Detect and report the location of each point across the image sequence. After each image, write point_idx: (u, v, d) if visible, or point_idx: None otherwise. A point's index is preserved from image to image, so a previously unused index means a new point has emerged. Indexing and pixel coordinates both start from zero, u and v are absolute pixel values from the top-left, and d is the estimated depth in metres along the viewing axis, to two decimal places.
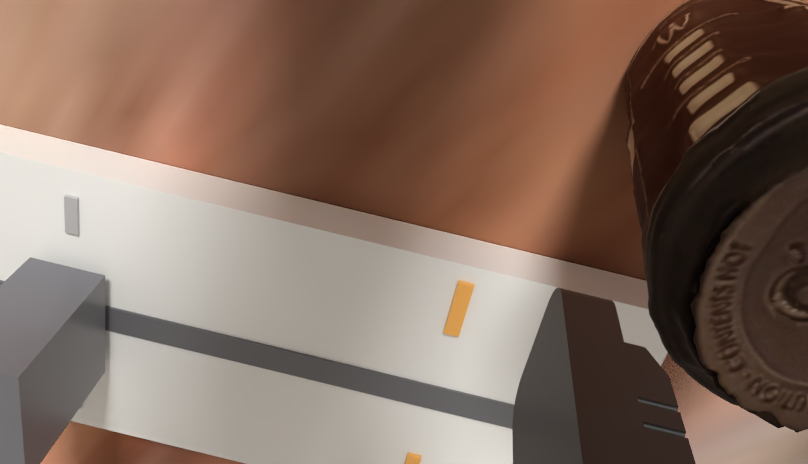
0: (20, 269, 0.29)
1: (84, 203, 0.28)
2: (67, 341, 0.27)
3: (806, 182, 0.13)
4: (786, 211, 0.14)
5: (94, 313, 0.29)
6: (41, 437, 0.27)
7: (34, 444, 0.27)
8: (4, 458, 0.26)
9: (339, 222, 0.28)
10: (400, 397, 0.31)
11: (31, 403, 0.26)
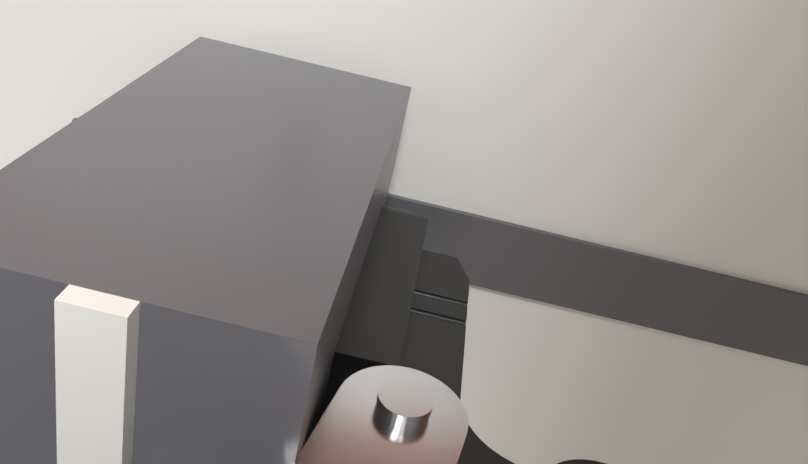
0: (184, 54, 0.10)
1: None
2: (365, 246, 0.08)
3: None
4: None
5: (385, 191, 0.10)
6: None
7: None
8: None
9: None
10: None
11: None
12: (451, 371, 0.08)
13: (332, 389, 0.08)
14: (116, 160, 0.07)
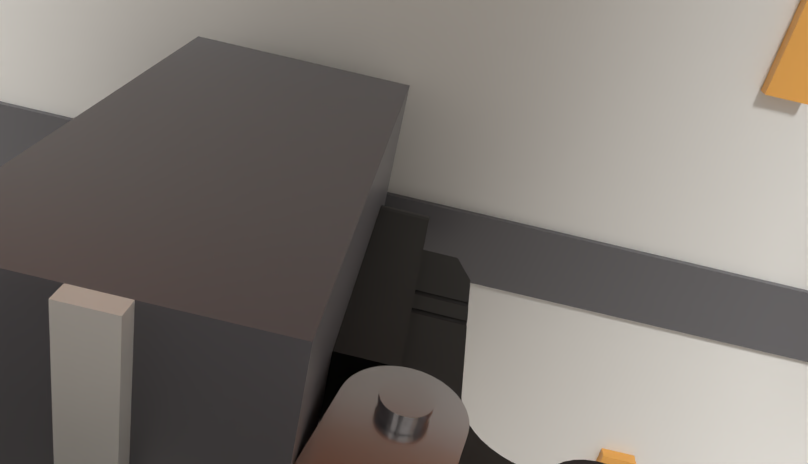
0: (182, 53, 0.10)
1: None
2: (362, 244, 0.08)
3: None
4: None
5: (383, 189, 0.10)
6: None
7: None
8: None
9: None
10: (604, 302, 0.12)
11: None
12: (452, 371, 0.08)
13: (333, 389, 0.08)
14: (112, 159, 0.07)
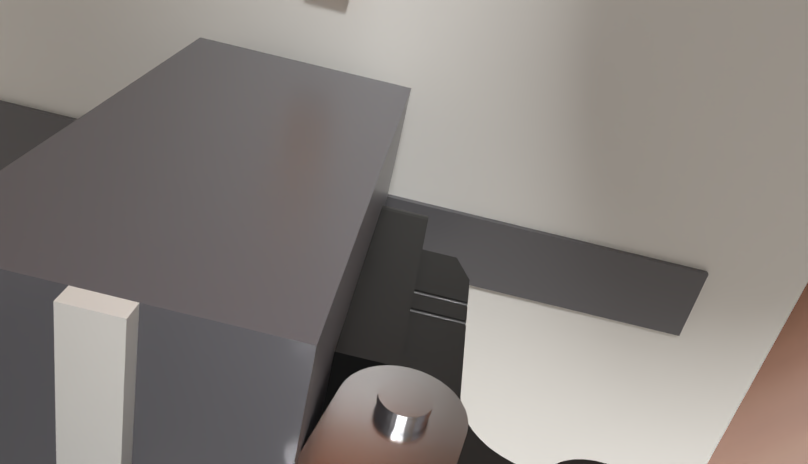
0: (184, 54, 0.10)
1: None
2: (364, 247, 0.08)
3: None
4: None
5: (384, 192, 0.10)
6: None
7: None
8: None
9: None
10: None
11: None
12: (451, 371, 0.08)
13: (332, 389, 0.08)
14: (115, 161, 0.07)
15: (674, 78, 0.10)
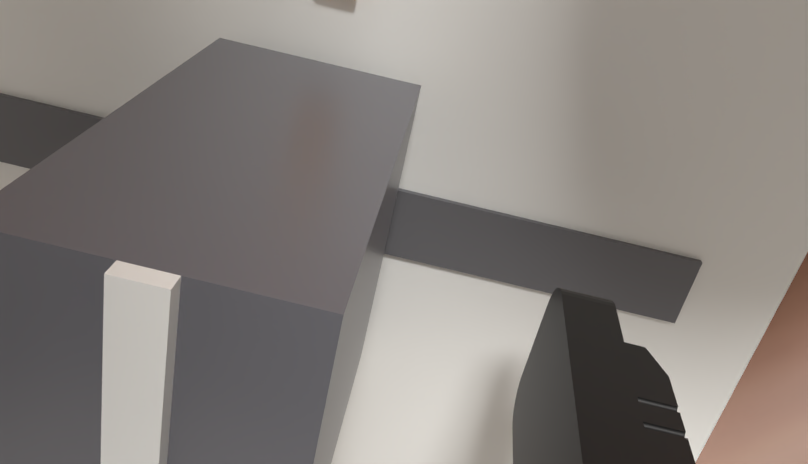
0: (206, 54, 0.10)
1: None
2: (379, 234, 0.09)
3: None
4: None
5: (396, 184, 0.11)
6: None
7: None
8: None
9: None
10: None
11: (326, 427, 0.07)
12: None
13: None
14: (150, 151, 0.07)
15: (667, 74, 0.11)
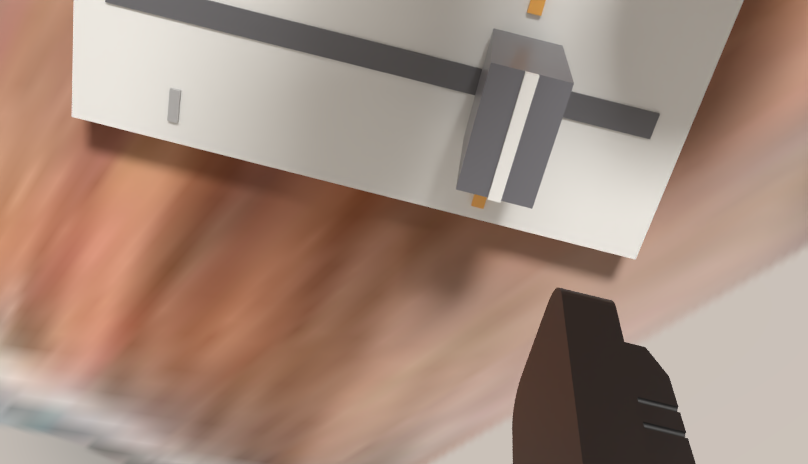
0: (495, 33, 0.31)
1: None
2: None
3: None
4: None
5: None
6: None
7: None
8: (521, 180, 0.28)
9: None
10: None
11: None
12: None
13: None
14: (510, 54, 0.28)
15: (647, 42, 0.32)
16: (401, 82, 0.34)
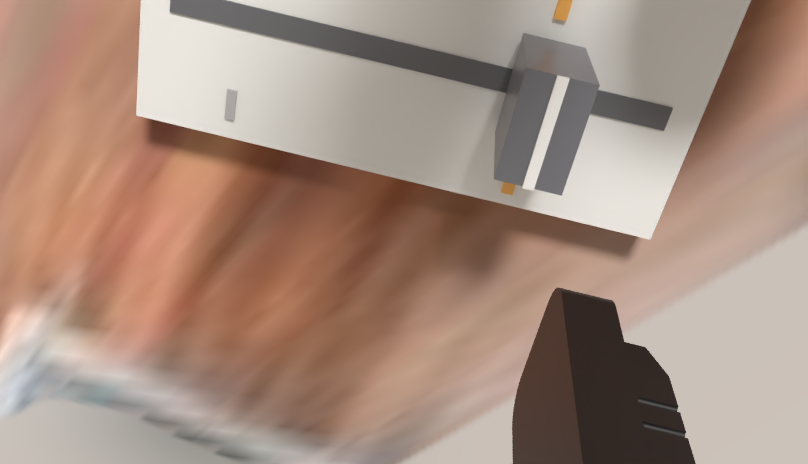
0: (525, 37, 0.35)
1: None
2: None
3: None
4: None
5: None
6: None
7: None
8: (552, 171, 0.32)
9: None
10: None
11: None
12: None
13: None
14: (541, 59, 0.32)
15: (661, 44, 0.35)
16: (438, 81, 0.38)
